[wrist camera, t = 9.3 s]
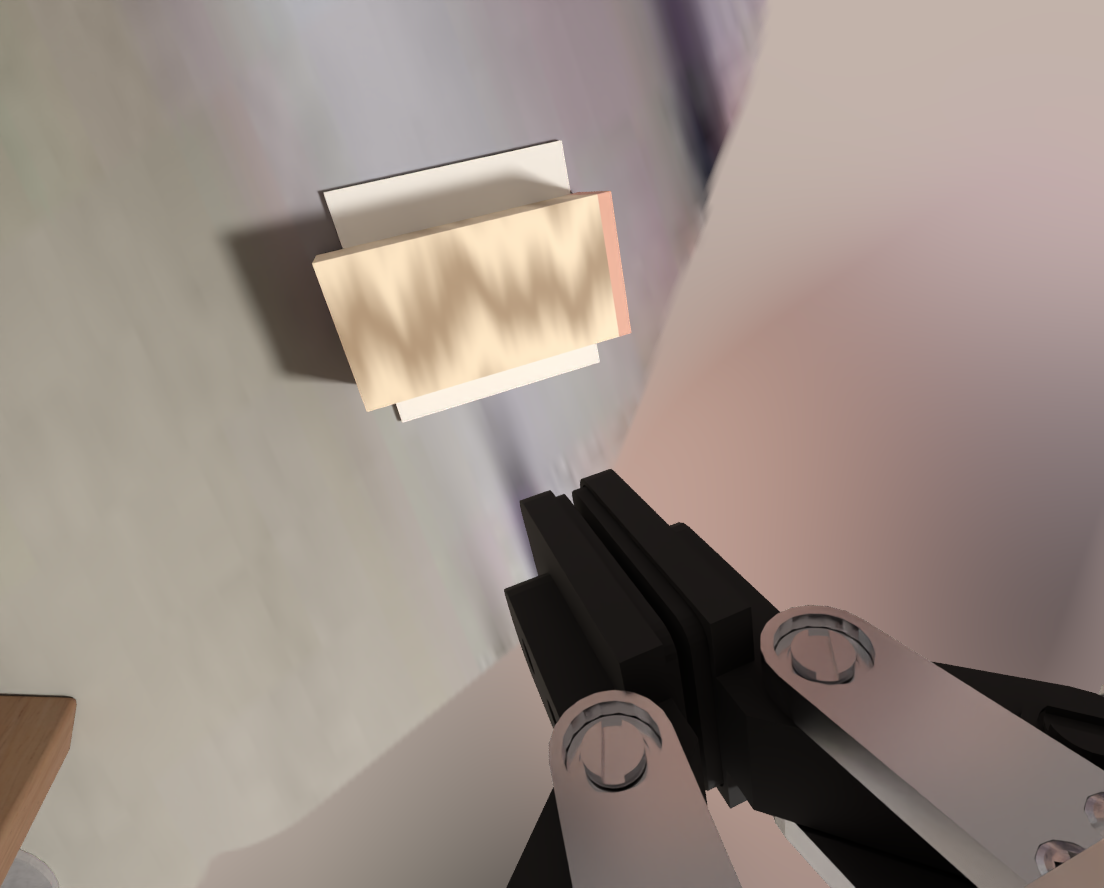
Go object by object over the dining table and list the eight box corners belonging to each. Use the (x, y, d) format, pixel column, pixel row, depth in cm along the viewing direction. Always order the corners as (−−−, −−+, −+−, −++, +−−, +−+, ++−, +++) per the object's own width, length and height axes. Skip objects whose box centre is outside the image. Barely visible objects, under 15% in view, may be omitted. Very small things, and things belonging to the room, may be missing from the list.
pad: (323, 192, 32) (323, 192, 32) (559, 140, 35) (561, 140, 35) (401, 421, 38) (402, 422, 38) (598, 361, 41) (599, 362, 41)
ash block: (312, 263, 29) (610, 190, 32) (316, 255, 33) (578, 192, 36) (366, 411, 32) (631, 332, 35) (364, 386, 36) (599, 318, 40)
